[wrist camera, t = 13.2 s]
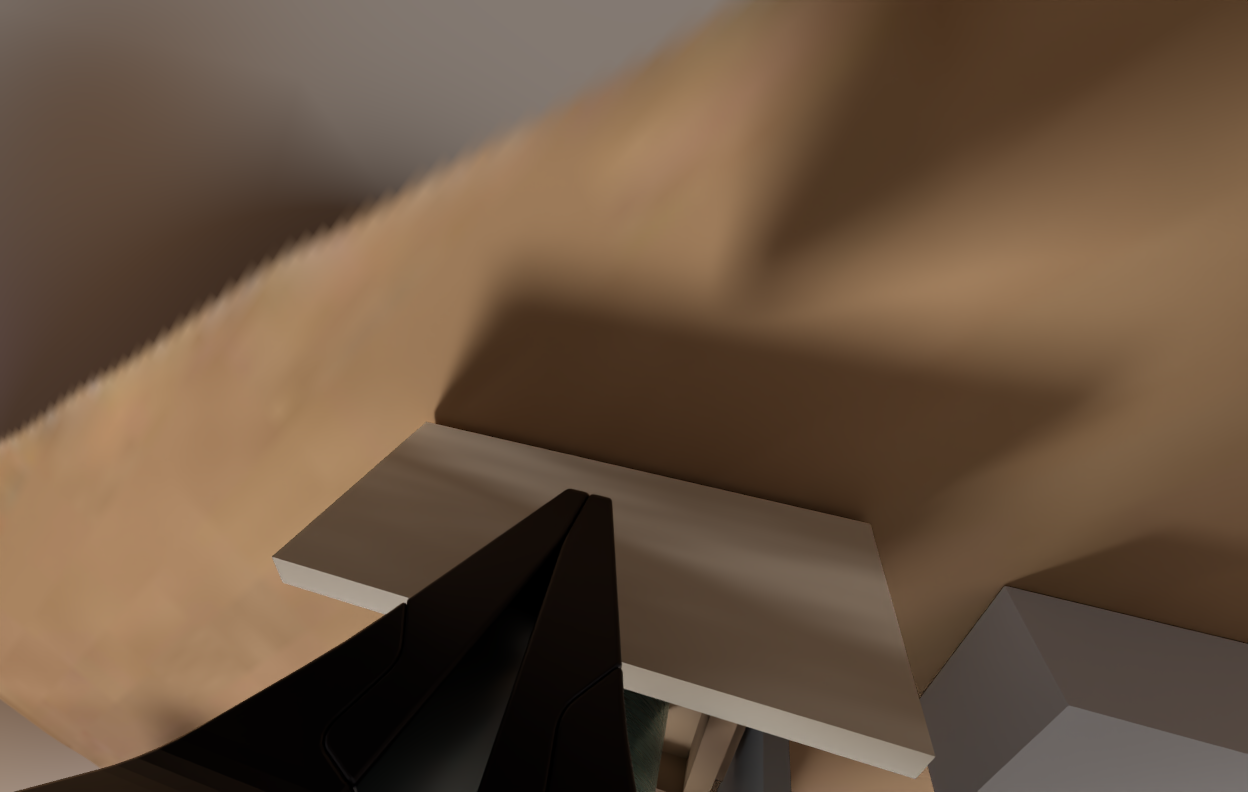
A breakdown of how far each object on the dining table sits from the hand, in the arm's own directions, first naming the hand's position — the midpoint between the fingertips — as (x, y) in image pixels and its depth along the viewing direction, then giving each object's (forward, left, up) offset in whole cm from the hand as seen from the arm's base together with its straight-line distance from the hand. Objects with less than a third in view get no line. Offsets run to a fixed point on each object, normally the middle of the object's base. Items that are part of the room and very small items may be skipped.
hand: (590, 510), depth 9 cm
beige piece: (-9, 0, -4) cm, 9 cm away
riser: (-6, -13, -4) cm, 15 cm away
